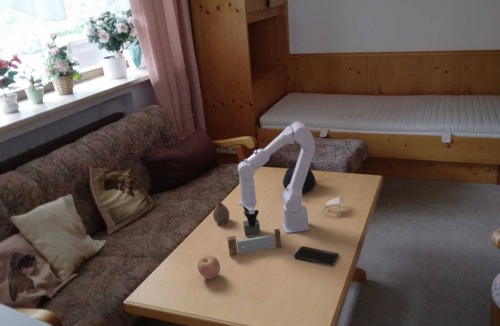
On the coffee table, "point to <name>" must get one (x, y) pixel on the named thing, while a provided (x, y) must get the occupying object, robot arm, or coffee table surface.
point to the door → (255, 244)
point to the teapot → (308, 182)
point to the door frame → (233, 245)
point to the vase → (221, 214)
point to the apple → (209, 267)
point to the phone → (316, 256)
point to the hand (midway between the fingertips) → (250, 221)
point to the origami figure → (334, 204)
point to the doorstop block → (251, 228)
